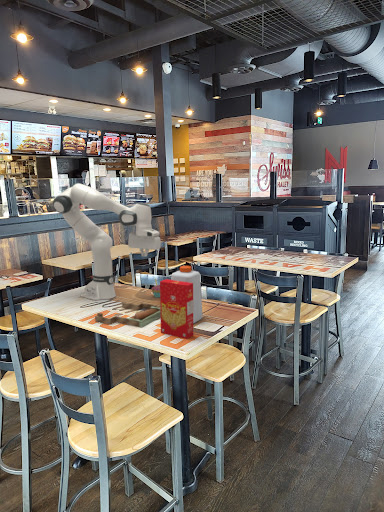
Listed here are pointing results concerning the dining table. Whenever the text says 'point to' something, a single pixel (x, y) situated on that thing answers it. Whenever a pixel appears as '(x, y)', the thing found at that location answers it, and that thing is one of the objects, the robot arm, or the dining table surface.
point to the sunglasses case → (144, 314)
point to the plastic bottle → (193, 277)
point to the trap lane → (129, 320)
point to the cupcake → (156, 290)
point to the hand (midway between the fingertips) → (144, 256)
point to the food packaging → (176, 308)
